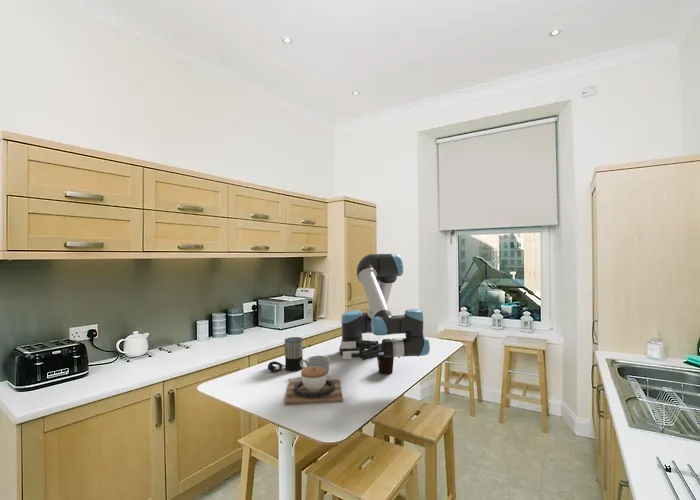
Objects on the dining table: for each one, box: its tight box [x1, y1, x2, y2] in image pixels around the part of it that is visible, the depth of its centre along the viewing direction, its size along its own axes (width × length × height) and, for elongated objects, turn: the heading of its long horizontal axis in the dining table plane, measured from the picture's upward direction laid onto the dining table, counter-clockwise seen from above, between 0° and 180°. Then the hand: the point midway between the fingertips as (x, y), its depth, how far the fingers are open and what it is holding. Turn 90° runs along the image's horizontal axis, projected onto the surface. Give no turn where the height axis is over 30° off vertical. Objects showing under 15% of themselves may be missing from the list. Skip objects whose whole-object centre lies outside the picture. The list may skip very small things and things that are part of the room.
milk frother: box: [267, 336, 304, 373], centre depth 171 cm, size 14×16×15 cm
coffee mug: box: [376, 356, 395, 375], centre depth 165 cm, size 12×9×10 cm
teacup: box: [300, 355, 330, 374], centre depth 161 cm, size 14×11×8 cm
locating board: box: [284, 377, 344, 406], centre depth 142 cm, size 22×22×2 cm
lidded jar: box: [300, 366, 328, 392], centre depth 142 cm, size 11×11×9 cm
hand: (341, 350), depth 143 cm, fingers open, 13 cm apart
